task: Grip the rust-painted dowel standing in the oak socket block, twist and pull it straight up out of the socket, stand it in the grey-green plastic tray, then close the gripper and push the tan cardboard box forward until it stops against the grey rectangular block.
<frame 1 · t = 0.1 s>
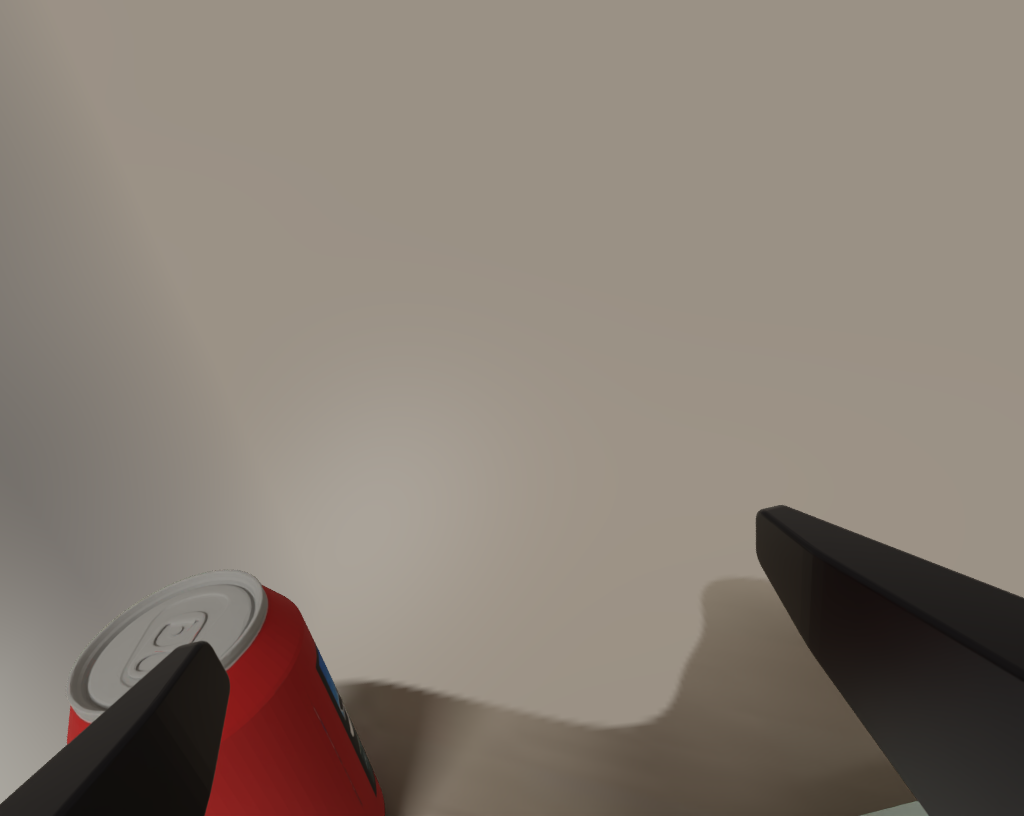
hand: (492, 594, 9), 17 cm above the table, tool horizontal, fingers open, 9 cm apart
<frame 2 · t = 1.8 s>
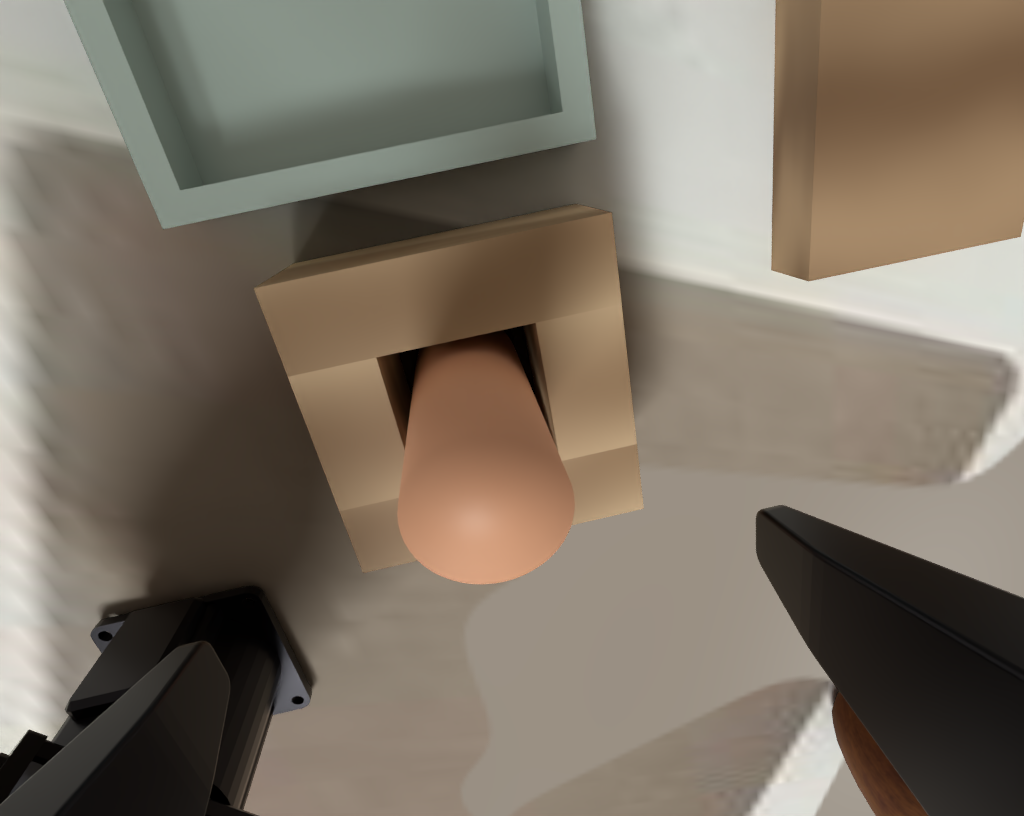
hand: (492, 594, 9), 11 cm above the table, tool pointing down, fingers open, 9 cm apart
wooden figurine: (868, 686, 29), on the table
dowel: (474, 419, 15), in the socket block
socket block: (467, 366, 19), on the table
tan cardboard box: (870, 123, 18), on the table
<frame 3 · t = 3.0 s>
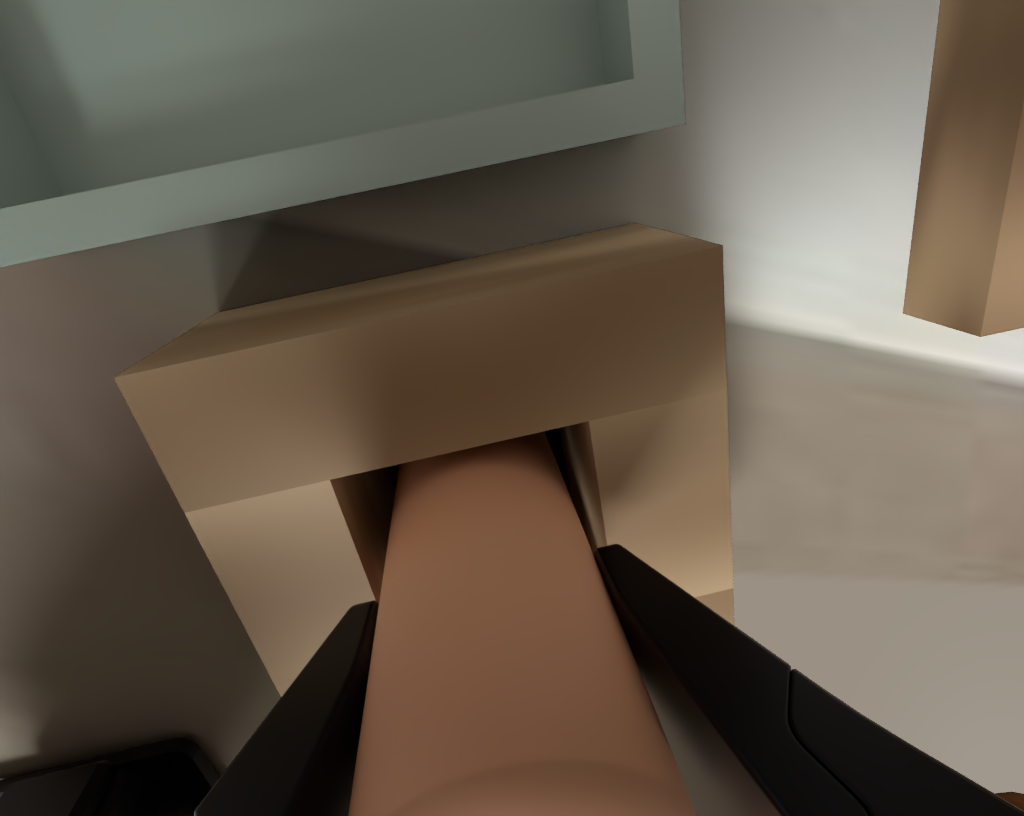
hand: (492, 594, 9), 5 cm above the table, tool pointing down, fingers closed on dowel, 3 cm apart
wooden figurine: (969, 812, 23), on the table
dowel: (489, 571, 9), in the socket block, touching gripper
socket block: (474, 450, 13), on the table
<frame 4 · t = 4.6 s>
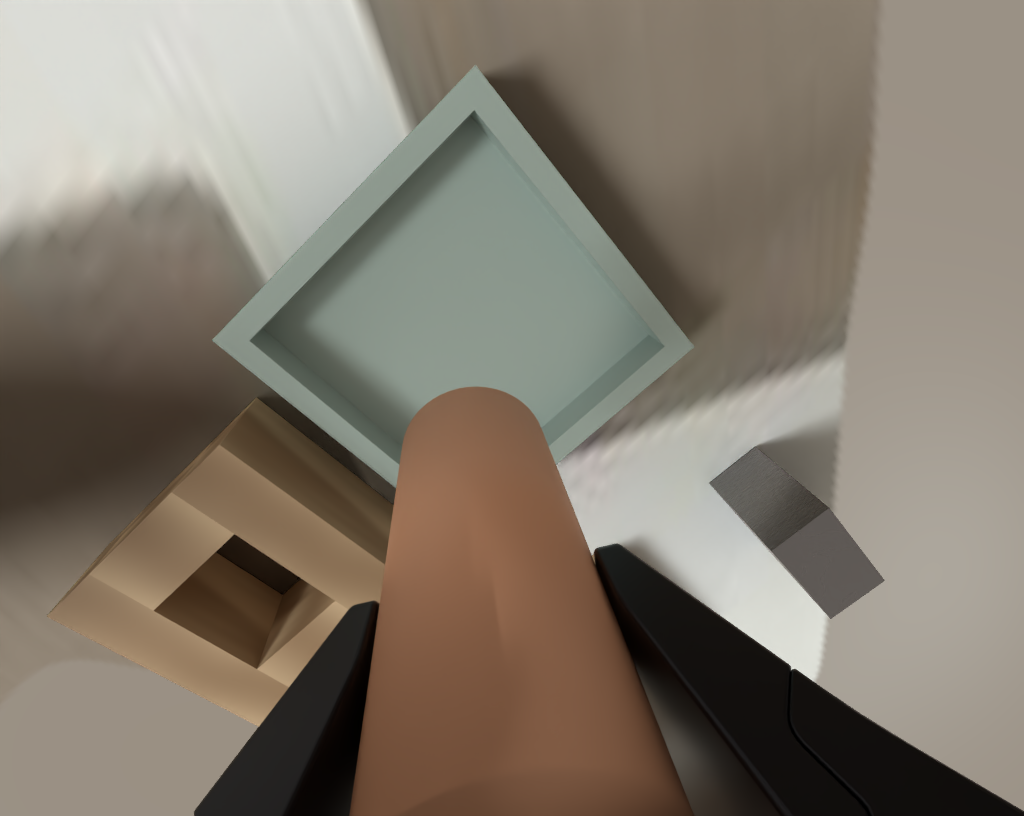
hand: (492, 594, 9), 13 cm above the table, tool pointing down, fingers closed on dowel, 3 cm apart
dowel: (489, 576, 9), point 13 cm above the table, touching gripper
socket block: (275, 537, 23), on the table
tray: (464, 327, 21), on the table
grey rectangular block: (759, 497, 26), on the table
when the fingers open (6 cm above the table, at t = 6.2 s): dowel stays where it is, resting on tray.
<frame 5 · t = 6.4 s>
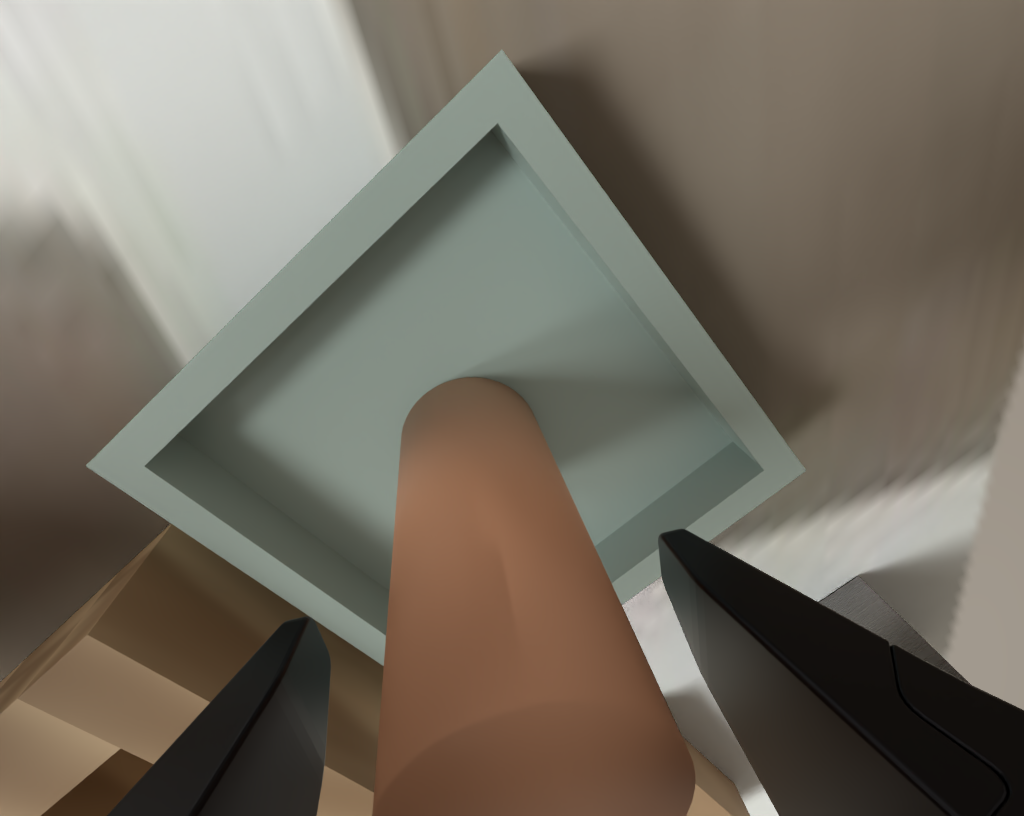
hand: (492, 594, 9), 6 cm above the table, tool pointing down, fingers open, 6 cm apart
dowel: (491, 552, 10), in the tray, point 5 cm above the table
socket block: (208, 692, 17), on the table
tray: (473, 427, 15), on the table
grey rectangular block: (856, 636, 20), on the table
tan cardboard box: (604, 786, 22), on the table
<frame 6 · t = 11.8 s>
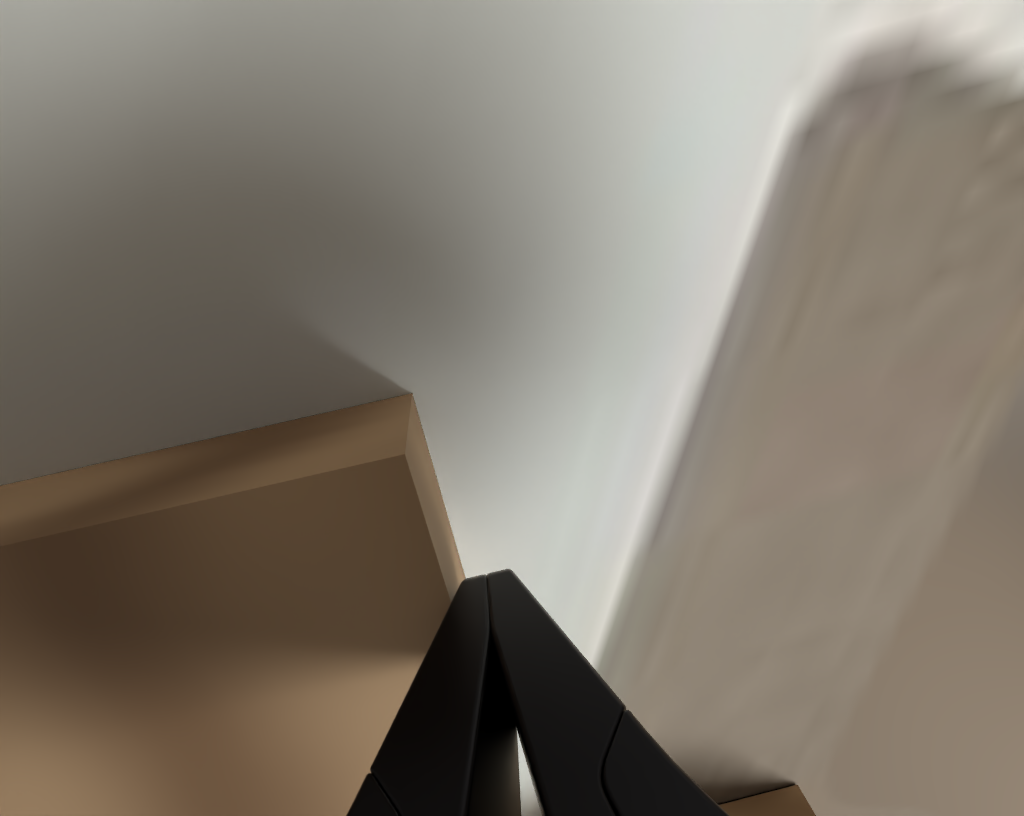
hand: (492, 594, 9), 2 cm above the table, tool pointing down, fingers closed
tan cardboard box: (258, 594, 11), on the table, touching gripper
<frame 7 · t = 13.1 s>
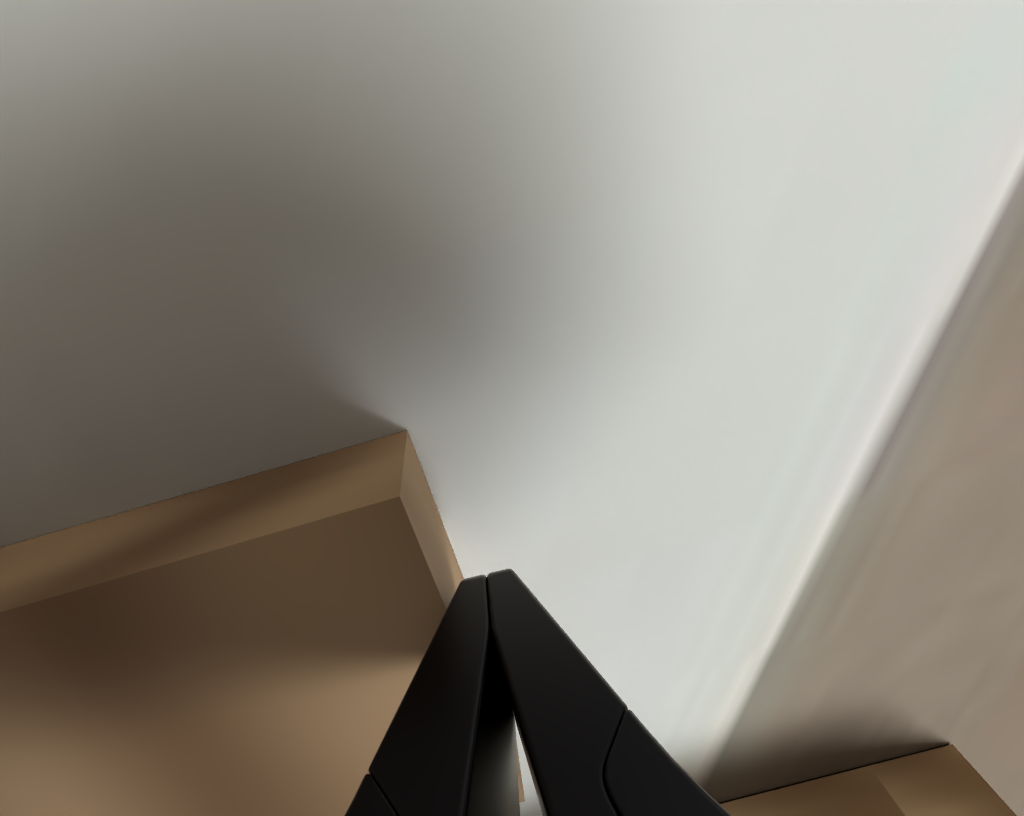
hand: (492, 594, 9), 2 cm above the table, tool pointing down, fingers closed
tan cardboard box: (273, 626, 11), on the table
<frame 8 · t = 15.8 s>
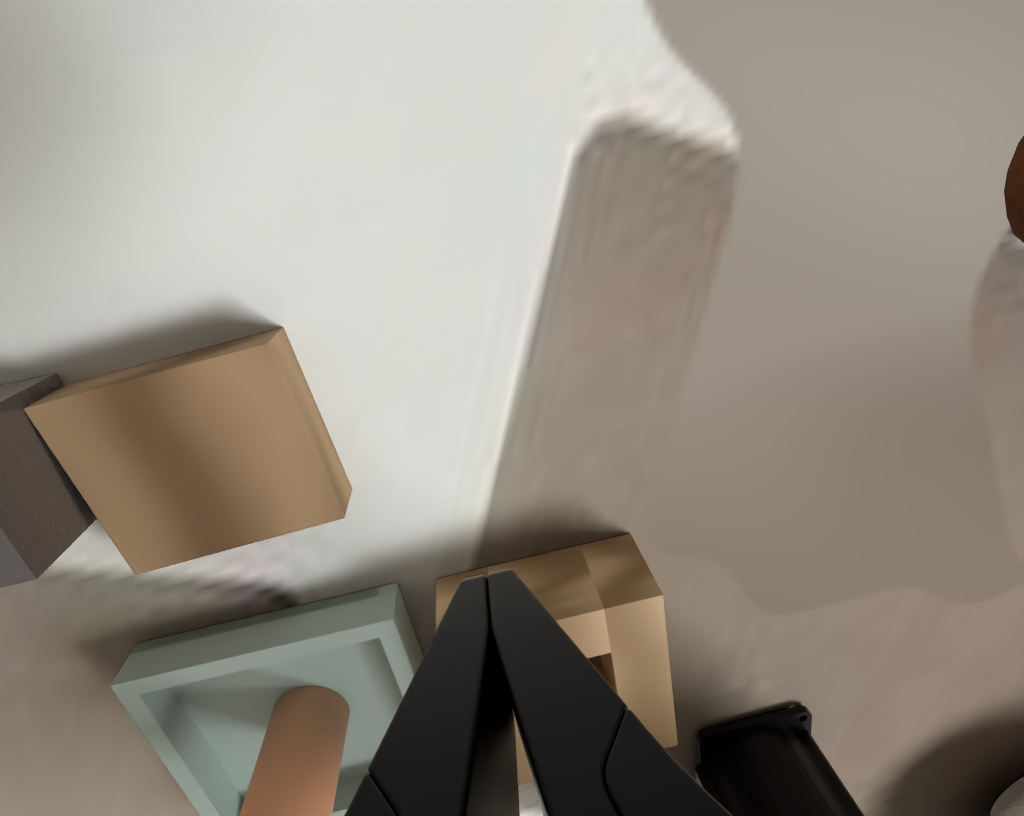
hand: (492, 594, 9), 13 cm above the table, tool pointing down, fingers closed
dowel: (287, 813, 22), in the tray, point 5 cm above the table
socket block: (549, 629, 27), on the table
tray: (312, 701, 27), on the table
grey rectangular block: (55, 443, 20), on the table
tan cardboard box: (222, 436, 21), on the table
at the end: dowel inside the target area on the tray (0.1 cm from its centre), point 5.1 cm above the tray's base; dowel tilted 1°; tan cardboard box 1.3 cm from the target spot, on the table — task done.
